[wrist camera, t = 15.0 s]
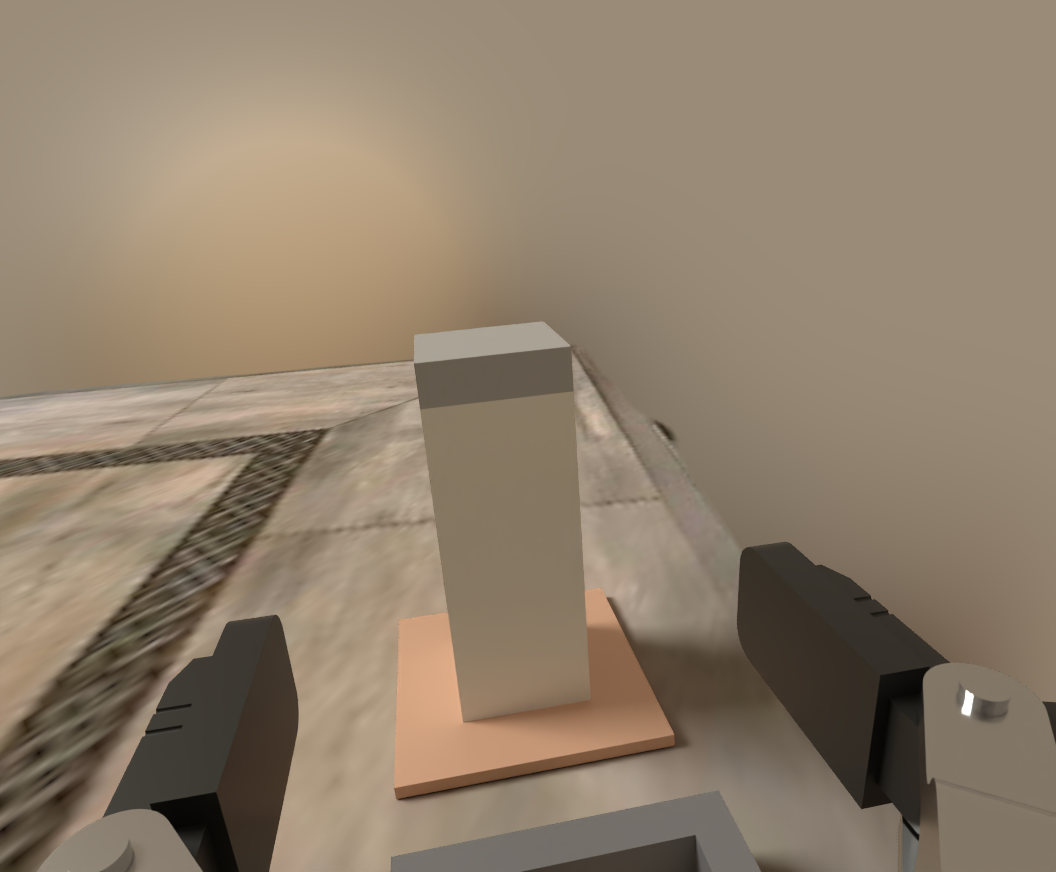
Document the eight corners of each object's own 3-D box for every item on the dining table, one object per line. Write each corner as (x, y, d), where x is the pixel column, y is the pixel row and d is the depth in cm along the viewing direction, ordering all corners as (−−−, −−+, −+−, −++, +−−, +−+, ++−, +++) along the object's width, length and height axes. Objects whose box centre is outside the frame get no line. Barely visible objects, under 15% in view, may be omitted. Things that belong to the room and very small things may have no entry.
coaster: (396, 799, 23) (394, 788, 23) (400, 628, 32) (399, 619, 32) (674, 745, 24) (674, 734, 24) (601, 596, 34) (601, 587, 34)
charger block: (463, 722, 26) (413, 363, 21) (455, 642, 30) (414, 334, 26) (590, 699, 26) (571, 346, 22) (564, 625, 31) (543, 321, 26)
